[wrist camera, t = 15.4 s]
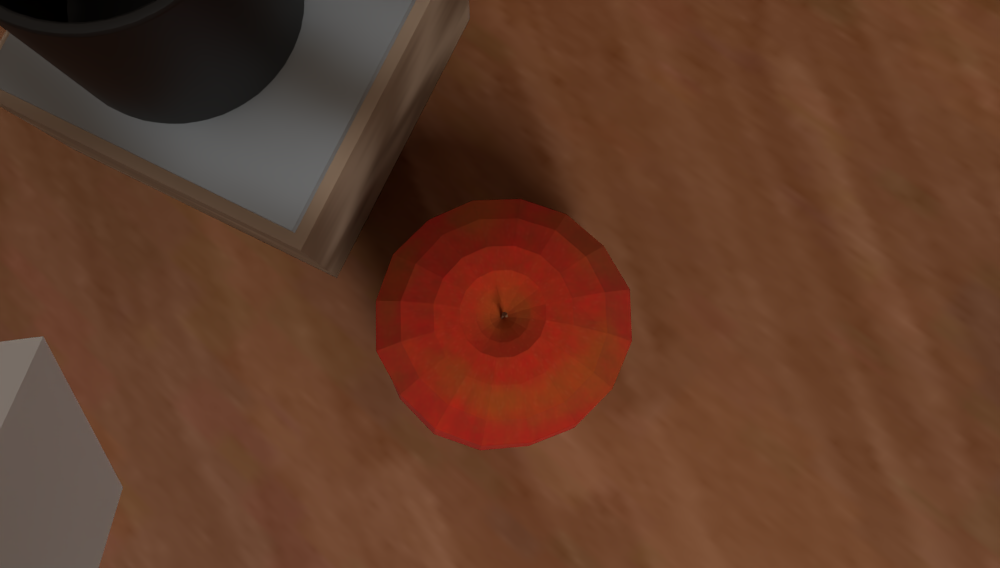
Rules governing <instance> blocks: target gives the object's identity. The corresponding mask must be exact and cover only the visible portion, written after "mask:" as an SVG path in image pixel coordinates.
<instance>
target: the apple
mask: <svg viewBox="0 0 1000 568" xmlns="http://www.w3.org/2000/svg"><path fill="white" fill-rule="evenodd" d="M631 342H632V335H631V309H630V289H629V287H628V286H627V284H626V282H625V281H624V279H623V278H622V276H621V274H620V273H619V271H618V269H617V268H616V266H615V264H614V263H613V261H612V259H611V258H610V256H609V254H608V253H607V251H606V249H605V248H604V246H603V245H602V244H601V243H599V242H598V241H597V240H596V239H595V238H594V237H592V236H591V235H590V234H589V233H588V232H587V231H585V230H584V229H583V228H582V227H581V226H580V225H578V224H577V223H576V222H575V221H574V220H573V219H571V218H570V217H569V216H568V215H567V214H564V213H561V212H558V211H555V210H552V209H549V208H546V207H543V206H540V205H537V204H534V203H531V202H528V201H525V200H522V199H503V200H472V201H470V202H468V203H466V204H463V205H461V206H459V207H457V208H454V209H452V210H450V211H448V212H445V213H443V214H441V215H438V216H436V217H434V218H432V219H429V220H428V221H427V222H426V223H425V224H424V225H423V226H422V227H421V228H420V229H418V230H417V231H416V232H415V233H414V234H413V235H412V236H411V237H410V238H409V239H408V240H407V241H406V242H405V243H404V244H403V245H402V246H401V247H400V248H399V249H398V250H397V251H396V252H395V253H394V254H393V256H392V258H391V261H390V264H389V267H388V269H387V272H386V275H385V278H384V280H383V283H382V286H381V288H380V291H379V294H378V297H377V299H376V351H377V353H378V355H379V357H380V359H381V361H382V362H383V364H384V366H385V368H386V370H387V372H388V373H389V375H390V377H391V379H392V381H393V383H394V386H395V388H396V391H397V393H398V395H399V398H400V399H401V400H402V401H403V402H404V403H405V404H406V405H407V406H408V408H409V409H410V410H411V411H412V412H413V413H414V414H415V415H416V416H417V417H418V418H419V419H420V420H421V421H422V422H423V423H424V424H425V425H426V426H427V427H428V428H429V429H430V430H431V431H432V432H433V434H436V435H438V436H441V437H444V438H447V439H450V440H453V441H455V442H458V443H461V444H464V445H467V446H470V447H473V448H475V449H478V450H488V449H499V448H510V447H520V446H529V445H532V444H534V443H537V442H539V441H542V440H544V439H547V438H550V437H552V436H555V435H557V434H560V433H562V432H565V431H567V430H570V429H572V428H574V427H575V426H576V425H577V424H578V423H579V422H580V421H581V420H582V419H583V418H584V417H585V416H586V415H587V414H588V413H589V412H590V411H591V410H592V409H593V408H594V407H595V406H596V405H597V404H598V403H599V402H600V401H601V400H602V399H603V398H604V397H605V396H606V395H607V394H608V393H609V392H610V390H611V389H612V388H613V386H614V383H615V381H616V378H617V376H618V374H619V371H620V369H621V366H622V364H623V361H624V359H625V356H626V354H627V351H628V349H629V347H630V344H631Z"/></svg>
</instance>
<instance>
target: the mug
mask: <svg viewBox="0 0 1000 568" xmlns="http://www.w3.org/2000/svg"><path fill="white" fill-rule="evenodd" d="M303 15H304V0H0V26H1V27H3V28H4V29H5V30H7V31H8V32H9V33H11V34H12V35H13V36H15V37H16V38H17V39H19V40H20V41H21V42H23V43H24V44H25V45H27V46H28V47H29V48H31V49H32V50H33V51H35V52H36V53H37V54H39V55H40V56H41V57H43V58H44V59H45V60H47V61H48V62H49V63H51V64H52V65H53V66H55V67H56V68H57V69H59V70H60V71H61V72H63V73H64V74H65V75H67V76H68V77H69V78H71V79H72V80H73V81H75V82H76V83H77V84H79V85H80V86H81V87H83V88H84V89H85V90H87V91H88V92H89V93H91V94H92V95H93V96H95V97H96V98H97V99H99V100H100V101H102V102H103V103H104V104H106V105H107V106H109V107H111V108H113V109H115V110H117V111H119V112H121V113H123V114H126V115H128V116H131V117H134V118H137V119H141V120H144V121H150V122H156V123H166V124H185V123H192V122H198V121H203V120H207V119H211V118H214V117H217V116H220V115H223V114H226V113H228V112H230V111H232V110H234V109H236V108H238V107H240V106H241V105H243V104H245V103H246V102H248V101H249V100H251V99H252V98H253V97H255V96H256V95H258V94H259V93H260V92H261V91H262V90H263V89H264V88H265V87H266V86H267V85H268V84H269V83H270V82H271V81H272V80H273V79H274V78H275V77H276V76H277V74H278V73H279V72H280V70H281V69H282V68H283V67H284V65H285V64H286V62H287V60H288V58H289V56H290V55H291V53H292V51H293V49H294V46H295V44H296V41H297V39H298V36H299V33H300V30H301V26H302V20H303Z"/></svg>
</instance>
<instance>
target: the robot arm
mask: <svg viewBox="0 0 1000 568" xmlns="http://www.w3.org/2000/svg"><path fill="white" fill-rule="evenodd" d="M122 488H123V487H122V485H121V483H120V481H119V479H118V477H117V476H116V474H115V472H114V470H113V468H112V466H111V464H110V462H109V460H108V458H107V457H106V455H105V453H104V451H103V449H102V447H101V445H100V443H99V441H98V439H97V438H96V436H95V434H94V432H93V430H92V428H91V426H90V424H89V422H88V420H87V419H86V417H85V415H84V413H83V411H82V409H81V407H80V405H79V403H78V401H77V400H76V398H75V396H74V394H73V392H72V390H71V388H70V386H69V384H68V382H67V381H66V379H65V377H64V375H63V373H62V371H61V369H60V367H59V365H58V363H57V362H56V360H55V358H54V356H53V354H52V352H51V350H50V348H49V346H48V344H47V343H46V341H45V339H44V337H35V338H27V339H19V340H11V341H4V342H0V568H99V565H100V561H101V558H102V555H103V551H104V548H105V545H106V541H107V538H108V535H109V531H110V528H111V525H112V521H113V518H114V515H115V511H116V508H117V505H118V501H119V498H120V495H121V491H122Z"/></svg>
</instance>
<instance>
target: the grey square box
mask: <svg viewBox="0 0 1000 568" xmlns="http://www.w3.org/2000/svg"><path fill="white" fill-rule="evenodd" d="M469 19H470V14H469V0H304V15H303V20H302V26H301V30H300V33H299V36H298V39H297V41H296V44H295V46H294V49H293V51H292V53H291V55H290V56H289V58H288V60H287V62H286V64H285V65H284V67H283V68H282V69H281V70H280V72H279V73H278V74H277V76H276V77H275V78H274V79H273V80H272V81H271V82H270V83H269V84H268V85H267V86H266V87H265V88H264V89H263V90H262V91H261V92H260V93H259V94H258V95H256V96H255V97H253V98H252V99H251V100H249V101H248V102H246V103H245V104H243V105H241V106H240V107H238V108H236V109H234V110H232V111H230V112H228V113H226V114H223V115H220V116H217V117H214V118H211V119H207V120H203V121H198V122H192V123H185V124H166V123H156V122H150V121H144V120H141V119H137V118H134V117H131V116H128V115H126V114H123V113H121V112H119V111H117V110H115V109H113V108H111V107H109V106H107V105H106V104H104V103H103V102H102V101H100V100H99V99H97V98H96V97H95V96H93V95H92V94H91V93H89V92H88V91H87V90H85V89H84V88H83V87H81V86H80V85H79V84H77V83H76V82H75V81H73V80H72V79H71V78H69V77H68V76H67V75H65V74H64V73H63V72H61V71H60V70H59V69H57V68H56V67H55V66H53V65H52V64H51V63H49V62H48V61H47V60H45V59H44V58H43V57H41V56H40V55H39V54H37V53H36V52H35V51H33V50H32V49H31V48H29V47H28V46H27V45H25V44H24V43H23V42H21V41H20V40H19V39H17V38H16V37H15V36H13V35H12V34H11V33H9V32H8V31H7V30H6V32H5V34H4V35H3V37H2V39H1V41H0V106H1V107H2V108H4V109H6V110H7V111H9V112H11V113H13V114H14V115H16V116H18V117H19V118H21V119H23V120H25V121H26V122H28V123H30V124H31V125H33V126H35V127H37V128H38V129H40V130H42V131H43V132H45V133H47V134H49V135H50V136H52V137H54V138H55V139H57V140H59V141H60V142H62V143H64V144H66V145H67V146H69V147H71V148H73V149H75V150H77V151H79V152H81V153H83V154H85V155H87V156H89V157H91V158H93V159H95V160H97V161H99V162H101V163H103V164H105V165H107V166H110V167H112V168H114V169H116V170H118V171H120V172H122V173H124V174H126V175H128V176H130V177H132V178H134V179H136V180H138V181H140V182H142V183H144V184H146V185H148V186H150V187H152V188H154V189H156V190H159V191H161V192H163V193H165V194H167V195H169V196H171V197H173V198H175V199H177V200H179V201H181V202H183V203H185V204H187V205H189V206H191V207H193V208H195V209H197V210H199V211H201V212H203V213H205V214H208V215H210V216H212V217H214V218H216V219H218V220H220V221H222V222H224V223H226V224H228V225H230V226H232V227H234V228H236V229H238V230H240V231H242V232H244V233H246V234H248V235H250V236H252V237H255V238H257V239H259V240H261V241H263V242H265V243H267V244H269V245H271V246H273V247H275V248H277V249H279V250H281V251H283V252H285V253H287V254H289V255H291V256H293V257H295V258H297V259H299V260H301V261H304V262H306V263H308V264H310V265H312V266H314V267H316V268H318V269H320V270H322V271H324V272H326V273H328V274H330V275H332V276H334V277H336V278H337V276H338V274H339V272H340V270H341V268H342V266H343V264H344V263H345V261H346V259H347V257H348V255H349V253H350V251H351V249H352V247H353V245H354V243H355V241H356V239H357V237H358V235H359V233H360V231H361V229H362V227H363V225H364V224H365V222H366V220H367V218H368V216H369V214H370V212H371V210H372V208H373V206H374V204H375V202H376V200H377V198H378V196H379V194H380V192H381V190H382V188H383V186H384V185H385V183H386V181H387V179H388V177H389V175H390V173H391V171H392V169H393V167H394V165H395V163H396V161H397V159H398V157H399V155H400V153H401V151H402V149H403V147H404V146H405V144H406V142H407V140H408V138H409V136H410V134H411V132H412V130H413V128H414V126H415V124H416V122H417V120H418V118H419V116H420V114H421V112H422V110H423V109H424V107H425V105H426V103H427V101H428V99H429V97H430V95H431V93H432V91H433V89H434V87H435V85H436V83H437V81H438V79H439V77H440V75H441V73H442V71H443V70H444V68H445V66H446V64H447V62H448V60H449V58H450V56H451V54H452V52H453V50H454V48H455V46H456V44H457V42H458V40H459V38H460V36H461V34H462V32H463V31H464V29H465V27H466V25H467V23H468V21H469Z"/></svg>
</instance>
